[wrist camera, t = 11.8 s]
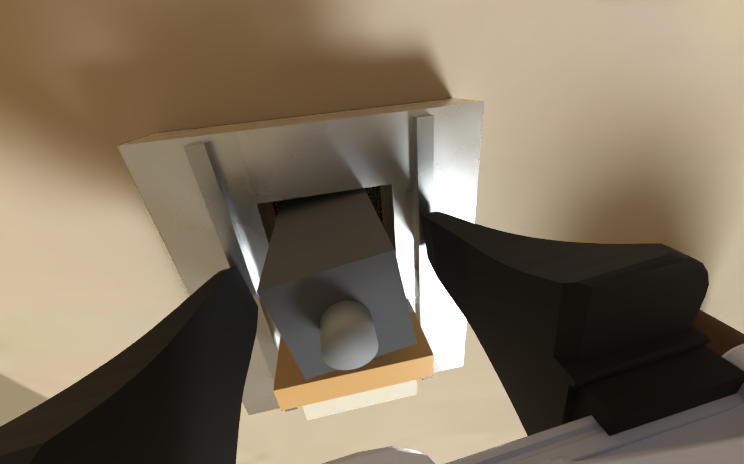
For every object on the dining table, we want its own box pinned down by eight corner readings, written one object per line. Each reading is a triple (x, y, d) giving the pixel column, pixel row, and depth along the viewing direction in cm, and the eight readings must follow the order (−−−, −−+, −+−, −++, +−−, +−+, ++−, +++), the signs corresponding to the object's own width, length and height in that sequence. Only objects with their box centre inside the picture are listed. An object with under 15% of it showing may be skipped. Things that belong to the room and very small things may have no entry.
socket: (453, 98, 13) (490, 102, 10) (445, 332, 19) (466, 371, 17) (156, 132, 11) (108, 148, 9) (256, 372, 18) (247, 422, 15)
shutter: (409, 301, 14) (433, 355, 11) (413, 382, 17) (432, 441, 14) (281, 327, 13) (273, 391, 10) (307, 407, 16) (306, 473, 13)
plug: (356, 173, 13) (406, 273, 6) (374, 237, 15) (428, 372, 8) (282, 194, 13) (249, 321, 6) (308, 257, 15) (305, 412, 8)
